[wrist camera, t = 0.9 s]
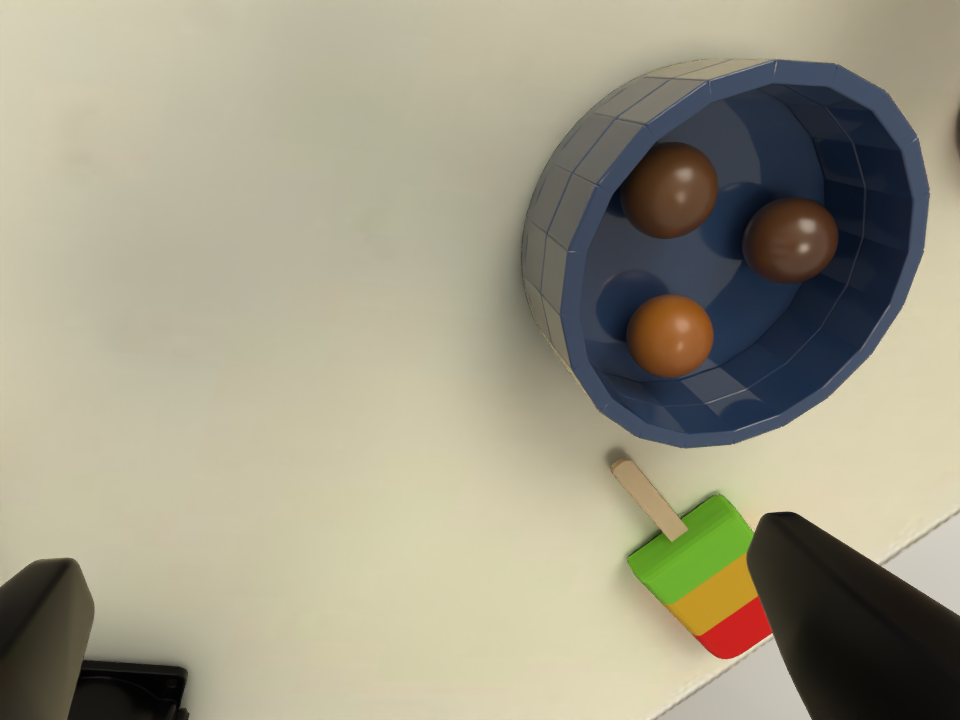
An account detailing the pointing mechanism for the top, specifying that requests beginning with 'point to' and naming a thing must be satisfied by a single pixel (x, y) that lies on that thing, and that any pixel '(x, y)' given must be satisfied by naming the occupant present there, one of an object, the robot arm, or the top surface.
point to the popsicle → (699, 567)
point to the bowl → (728, 243)
